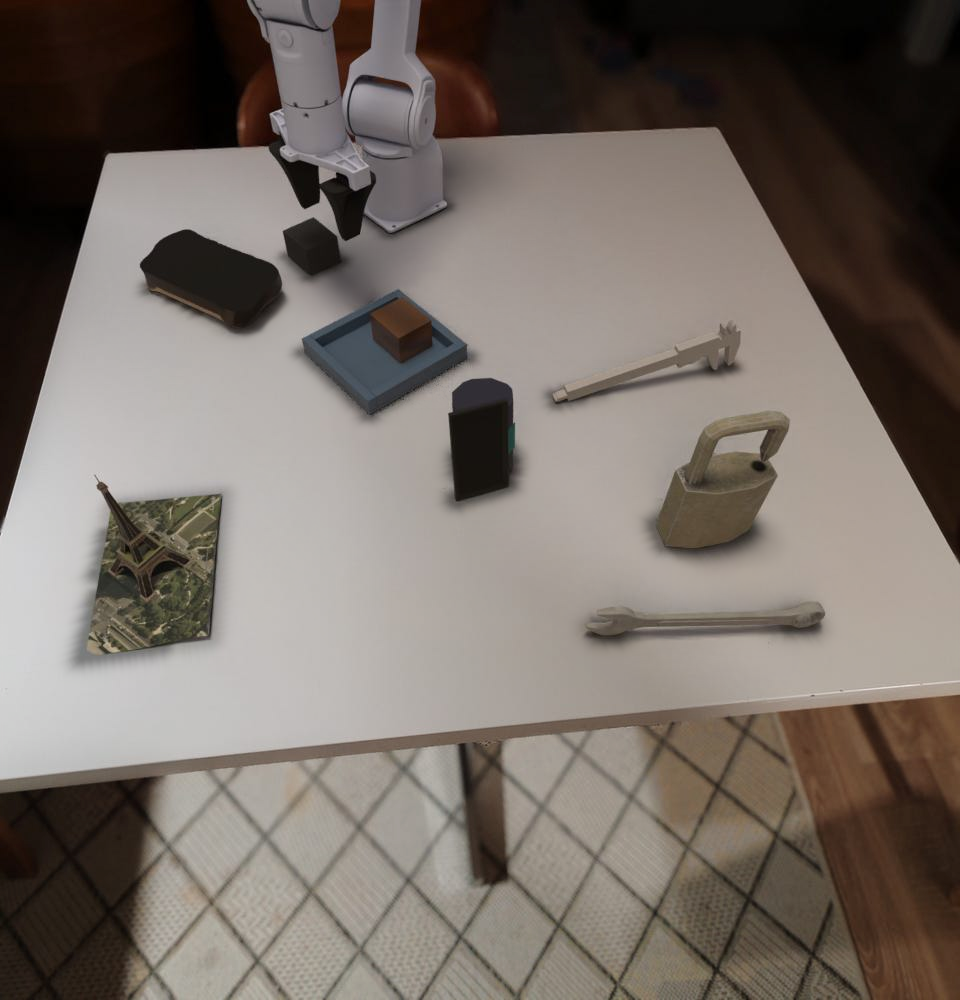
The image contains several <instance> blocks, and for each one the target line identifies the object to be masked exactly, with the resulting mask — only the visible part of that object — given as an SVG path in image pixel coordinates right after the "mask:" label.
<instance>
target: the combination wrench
mask: <svg viewBox="0 0 960 1000" xmlns="http://www.w3.org/2000/svg"><path fill="white" fill-rule="evenodd" d="M596 616H598V617H601V618H606V619H611V620H609V621H607V622H600V621H599V622H597V621H596V622H595V621H593V622H590V621H589V622H586V623H585V628H586V629H588V630H589V631H591V632H593V633H596V634H598V635H601V636H614V635H618V634H622V633H624V632H627V631H629V630H634V629H640V628H665V627H666V628H667V627H669V628H671V627H722V626H723V627H724V626H725V627H727V626H729V627H730V626H732V627H733V626H774V625H775V626H776V625H777V626H780V625H782V626H792V627H795V628H806V627H810V626H813V625H815V624H817V623H819V622H821V621H822V620H823V619H824V618H825V616H826V610H825V609H824V607H823V605H822V603H820V602H818V601H808V602H807V601H806V602H803V603H800V604H798V605H796V606H794V607H792V608H788V609H784V610H762V611H761V610H760V611H758V610H757V611H724V612H723V611H722V612H721V611H720V612H690V613H689V612H687V613H686V612H683V613H681V612H680V613H640V612H636V611H634V610H633V609H631V608H629V607H626V606H610V607H605V608H600V609H596Z"/></svg>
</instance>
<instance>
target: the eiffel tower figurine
mask: <svg viewBox="0 0 960 1000" xmlns="http://www.w3.org/2000/svg"><path fill="white" fill-rule="evenodd" d="M93 476H94V477H95V479H96V480H97V484H96V485H95V486H96V489H97V490H98V491H99V492H100V493H101V495H102V497H103V499H104V501H105V502H106V505H107V507H108V508H109V510H110V512H109V519H108V525H107V530H106V536H105V541H104V547H103V552H102V558H101V563H100V568H99V573H98V580H97V586H96V591H95V597H94V603H93V608H92V609H93V610H92V615H91V619H90V620H91V621H90V627H89V632H88V639H87V645H86V650H87V651H88V652H89V653H91V654H94V655H98V656H101V655H108V654H114V653H121V652H128V651H134V650H139V649H140V650H141V649H145V648H149V647H154V646H158V645H163V644H168V643H171V642H176V641H177V642H178V641H182V640H183V641H184V640H187V639H188V640H189V639H195V638H201V637H208V636H210V630H211V629H210V628H211V627H210V626H211V615H212V605H213V595H214V594H213V593H214V577H215V565H216V563H215V562H216V550H217V542H218V541H217V540H218V531H219V530H218V528H219V519H220V512H221V502H222V493H215V494H204V495H194V496H192V495H191V496H182V497H181V496H180V497H173V498H172V497H171V498H161V499H147V500H137V501H126V502H117V500H116V499H115V497H114V496H113V495H112V494H111V492H110V490H109V489H108V488H109V486H108V485H107V484H106V483H104V481H100V480H99V478H98V477H97V475H96V474H93Z"/></svg>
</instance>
